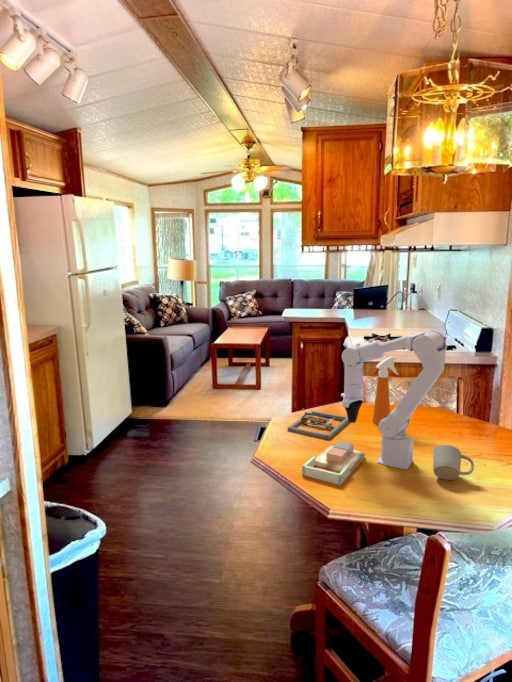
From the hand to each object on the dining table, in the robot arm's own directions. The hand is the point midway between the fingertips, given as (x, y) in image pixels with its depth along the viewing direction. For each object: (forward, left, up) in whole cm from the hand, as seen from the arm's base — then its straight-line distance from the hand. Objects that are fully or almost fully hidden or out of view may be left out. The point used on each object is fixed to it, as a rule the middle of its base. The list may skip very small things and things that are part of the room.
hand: (352, 421), depth 160 cm
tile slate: (0, +8, -8) cm, 11 cm away
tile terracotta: (0, +13, -8) cm, 16 cm away
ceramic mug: (-32, +4, -11) cm, 34 cm away
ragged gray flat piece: (+19, -14, -10) cm, 25 cm away
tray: (0, +22, -10) cm, 24 cm away
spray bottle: (-2, -31, -11) cm, 33 cm away
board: (0, +11, -10) cm, 15 cm away
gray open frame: (+18, -14, -10) cm, 24 cm away
